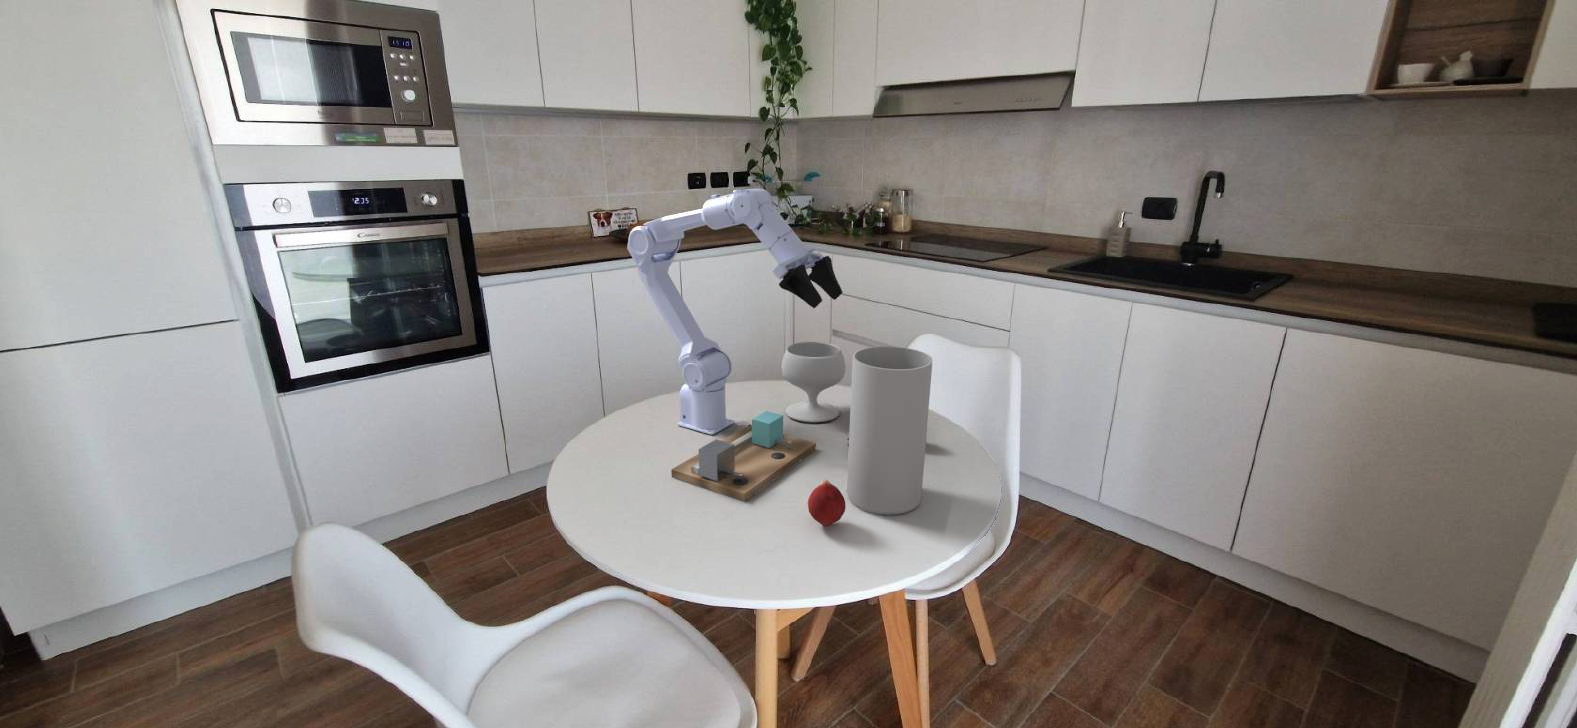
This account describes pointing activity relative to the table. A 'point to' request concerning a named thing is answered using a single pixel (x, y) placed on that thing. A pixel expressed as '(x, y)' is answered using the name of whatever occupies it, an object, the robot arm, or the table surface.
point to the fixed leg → (718, 461)
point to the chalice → (813, 378)
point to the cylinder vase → (888, 428)
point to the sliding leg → (768, 430)
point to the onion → (826, 504)
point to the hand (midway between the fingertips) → (828, 300)
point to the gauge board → (748, 465)
